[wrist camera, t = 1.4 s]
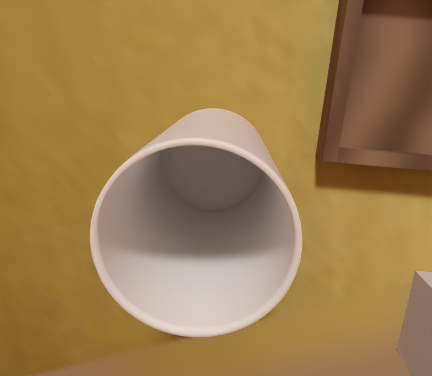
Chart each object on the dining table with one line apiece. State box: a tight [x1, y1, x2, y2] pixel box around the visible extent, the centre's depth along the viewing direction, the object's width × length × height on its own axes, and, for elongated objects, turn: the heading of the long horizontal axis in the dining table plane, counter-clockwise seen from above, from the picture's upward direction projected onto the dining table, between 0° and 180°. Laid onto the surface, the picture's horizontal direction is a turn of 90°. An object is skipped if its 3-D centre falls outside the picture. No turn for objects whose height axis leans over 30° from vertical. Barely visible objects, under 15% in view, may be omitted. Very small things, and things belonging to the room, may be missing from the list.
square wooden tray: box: [316, 0, 432, 171], centre depth 27 cm, size 12×12×2 cm
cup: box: [90, 108, 302, 337], centre depth 23 cm, size 8×8×16 cm
